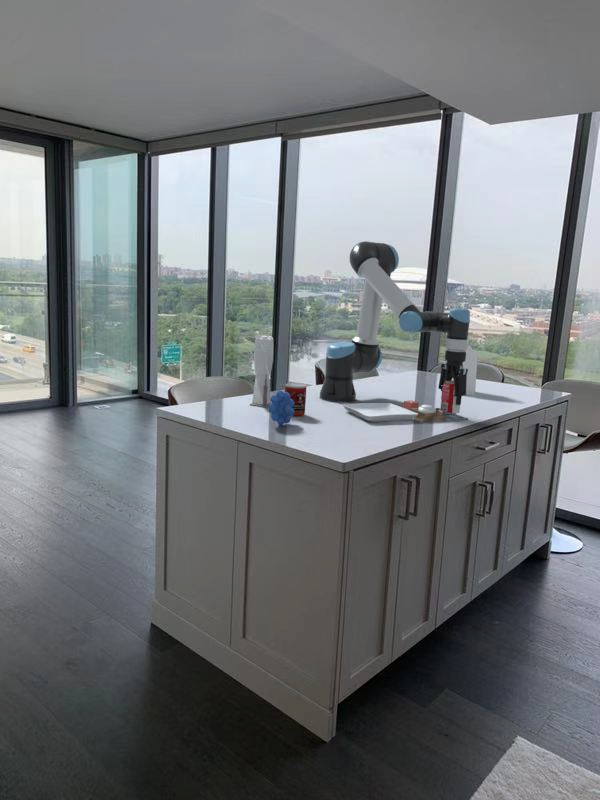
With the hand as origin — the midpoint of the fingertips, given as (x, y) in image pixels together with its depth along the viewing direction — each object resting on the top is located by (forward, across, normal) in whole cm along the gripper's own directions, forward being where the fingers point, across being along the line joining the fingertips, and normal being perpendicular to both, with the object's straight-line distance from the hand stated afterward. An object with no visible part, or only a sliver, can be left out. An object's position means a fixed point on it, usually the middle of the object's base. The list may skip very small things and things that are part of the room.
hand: (449, 410), depth 232 cm
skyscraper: (+3, +30, +65) cm, 72 cm away
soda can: (+1, 0, 0) cm, 1 cm away
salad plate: (+3, +6, +27) cm, 28 cm away
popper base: (+3, 0, +10) cm, 10 cm away
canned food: (+3, +12, +58) cm, 59 cm away
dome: (+1, 0, +10) cm, 10 cm away
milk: (+3, +48, -39) cm, 62 cm away
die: (+3, +12, +10) cm, 15 cm away
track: (+3, +5, 0) cm, 5 cm away
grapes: (+3, -4, +68) cm, 68 cm away
